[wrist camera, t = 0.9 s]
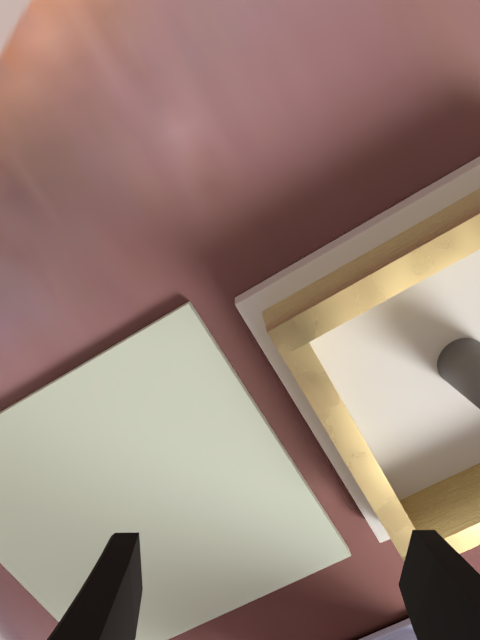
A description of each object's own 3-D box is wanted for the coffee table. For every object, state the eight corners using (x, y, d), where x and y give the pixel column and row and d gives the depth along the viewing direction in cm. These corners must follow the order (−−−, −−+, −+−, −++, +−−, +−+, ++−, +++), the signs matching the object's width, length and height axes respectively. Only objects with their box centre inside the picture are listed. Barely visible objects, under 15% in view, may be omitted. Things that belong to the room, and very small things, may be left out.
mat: (348, 547, 24) (351, 555, 23) (107, 658, 26) (104, 668, 26) (189, 300, 19) (188, 303, 19) (-85, 461, 22) (-94, 468, 21)
